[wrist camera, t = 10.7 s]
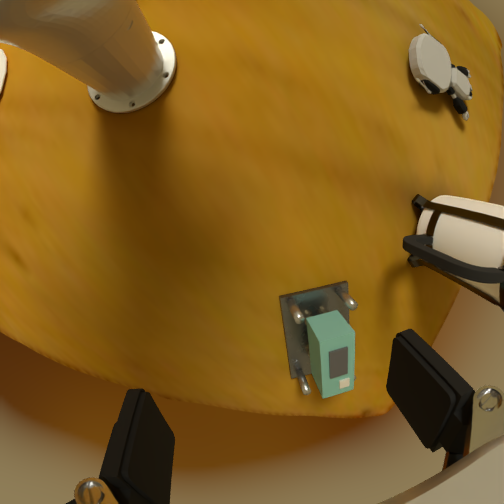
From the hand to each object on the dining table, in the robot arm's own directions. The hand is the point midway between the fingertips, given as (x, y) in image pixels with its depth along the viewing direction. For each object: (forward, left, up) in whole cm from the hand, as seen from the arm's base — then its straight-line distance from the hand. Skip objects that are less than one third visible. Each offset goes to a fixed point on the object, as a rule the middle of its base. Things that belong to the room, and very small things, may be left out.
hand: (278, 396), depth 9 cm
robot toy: (-21, +37, -28) cm, 51 cm away
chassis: (+17, +9, -28) cm, 34 cm away
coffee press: (+5, +30, -28) cm, 41 cm away
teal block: (+17, +9, -25) cm, 31 cm away
